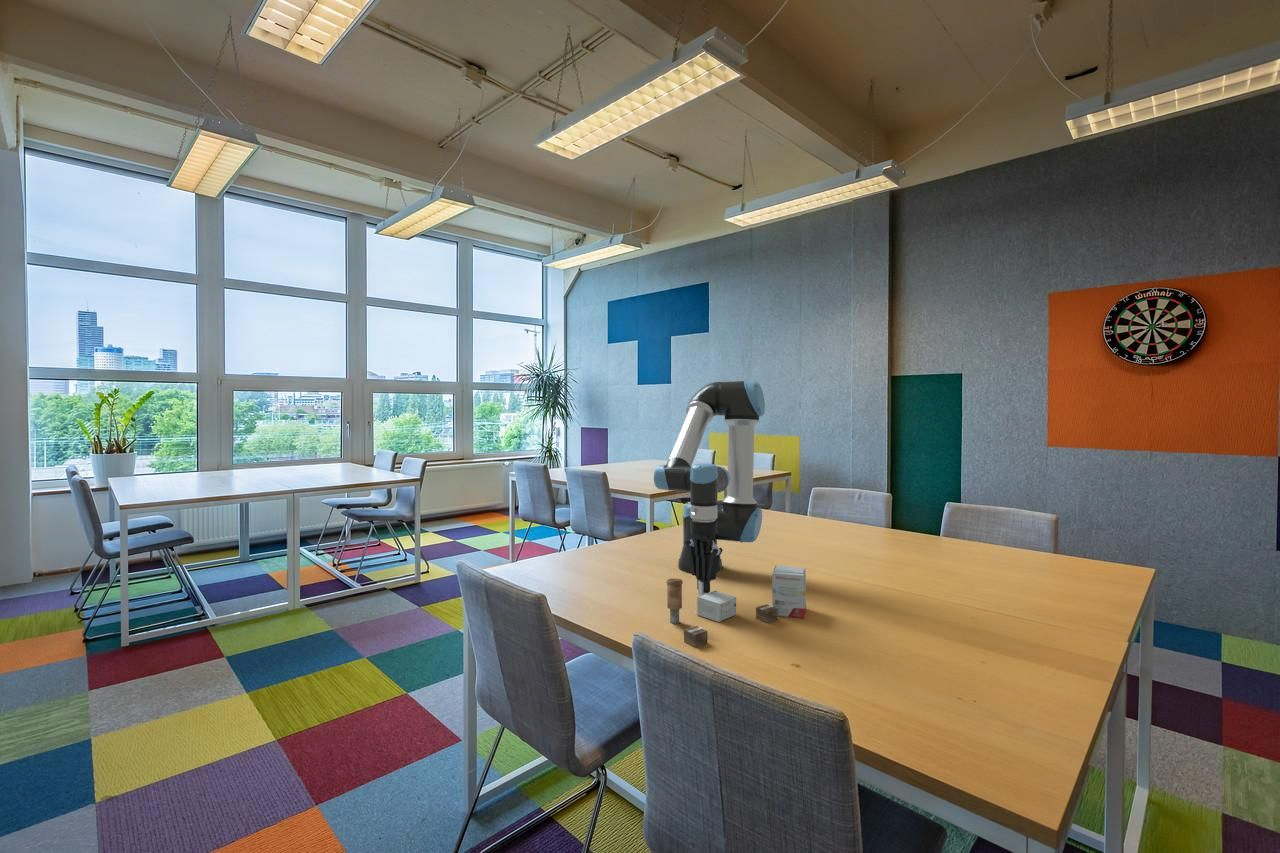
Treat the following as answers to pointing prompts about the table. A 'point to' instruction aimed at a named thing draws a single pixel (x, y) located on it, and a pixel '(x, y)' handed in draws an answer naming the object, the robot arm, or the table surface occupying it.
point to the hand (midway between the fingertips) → (703, 602)
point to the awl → (674, 598)
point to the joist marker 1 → (695, 636)
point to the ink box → (789, 591)
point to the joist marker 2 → (766, 613)
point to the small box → (716, 606)
